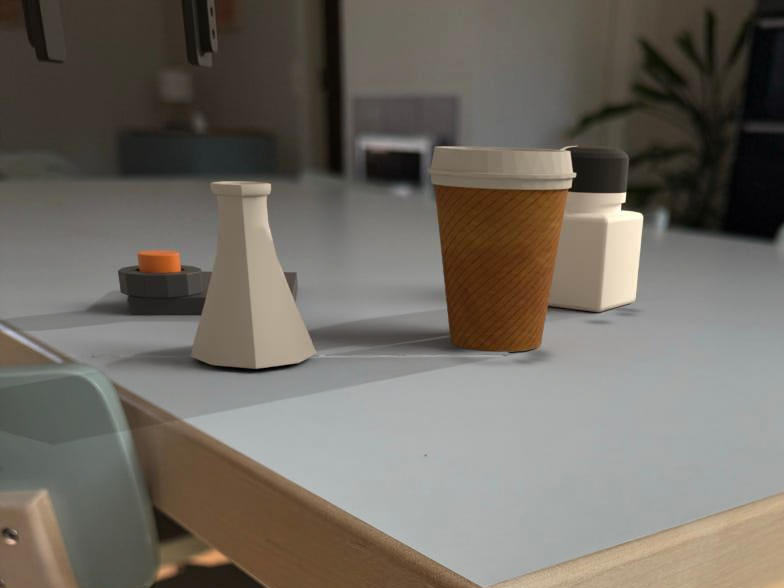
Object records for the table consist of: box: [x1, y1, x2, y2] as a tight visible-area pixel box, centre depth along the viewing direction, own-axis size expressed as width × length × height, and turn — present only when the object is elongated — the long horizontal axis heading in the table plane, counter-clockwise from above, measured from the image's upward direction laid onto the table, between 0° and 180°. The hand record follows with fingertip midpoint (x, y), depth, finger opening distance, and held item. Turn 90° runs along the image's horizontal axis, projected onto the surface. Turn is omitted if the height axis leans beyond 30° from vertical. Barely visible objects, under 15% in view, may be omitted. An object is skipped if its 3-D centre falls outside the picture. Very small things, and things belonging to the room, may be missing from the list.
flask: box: [190, 180, 317, 370], centre depth 59 cm, size 7×7×10 cm
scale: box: [117, 264, 299, 317], centre depth 79 cm, size 13×14×3 cm
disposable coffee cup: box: [426, 145, 576, 353], centre depth 65 cm, size 10×10×12 cm
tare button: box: [137, 249, 181, 273], centre depth 74 cm, size 3×3×2 cm
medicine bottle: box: [548, 145, 644, 313], centre depth 81 cm, size 7×7×12 cm
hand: (126, 64), depth 63 cm, fingers open, 9 cm apart
